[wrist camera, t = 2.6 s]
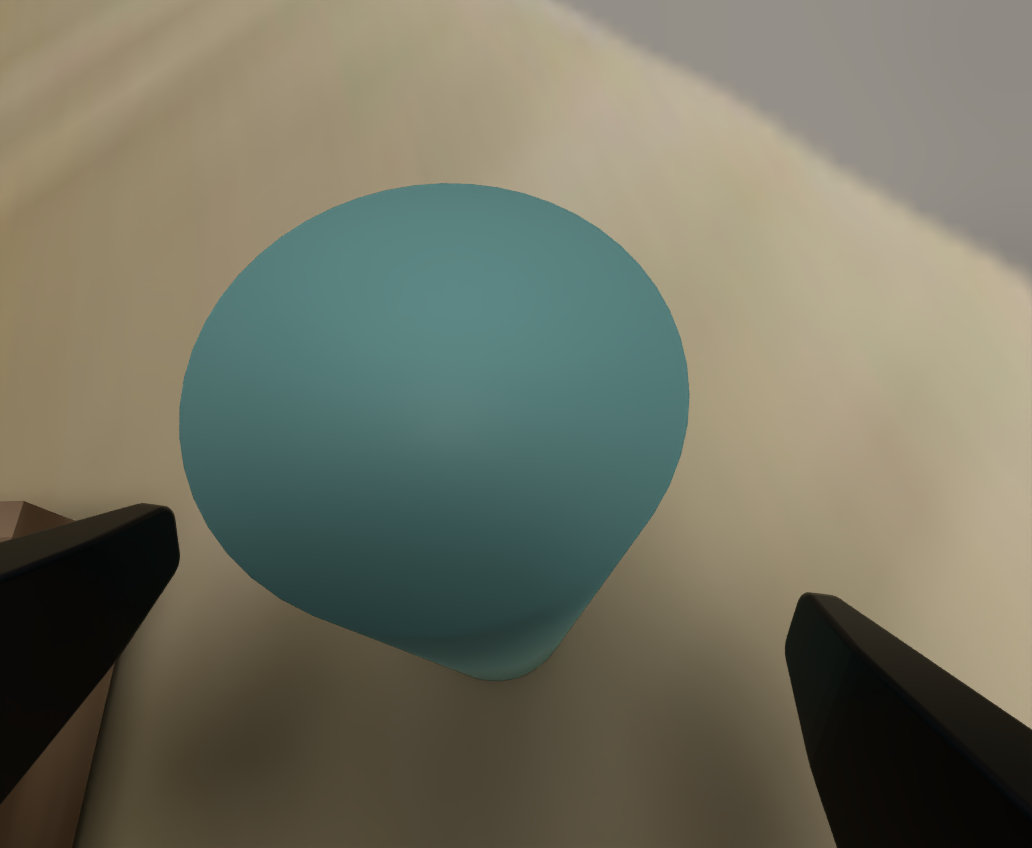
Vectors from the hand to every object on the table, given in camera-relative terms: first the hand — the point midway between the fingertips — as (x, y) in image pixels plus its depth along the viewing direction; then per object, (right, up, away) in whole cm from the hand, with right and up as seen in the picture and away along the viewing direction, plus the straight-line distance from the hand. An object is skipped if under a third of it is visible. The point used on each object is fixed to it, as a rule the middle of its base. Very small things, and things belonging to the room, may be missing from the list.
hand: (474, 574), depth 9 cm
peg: (0, -3, +8) cm, 9 cm away
